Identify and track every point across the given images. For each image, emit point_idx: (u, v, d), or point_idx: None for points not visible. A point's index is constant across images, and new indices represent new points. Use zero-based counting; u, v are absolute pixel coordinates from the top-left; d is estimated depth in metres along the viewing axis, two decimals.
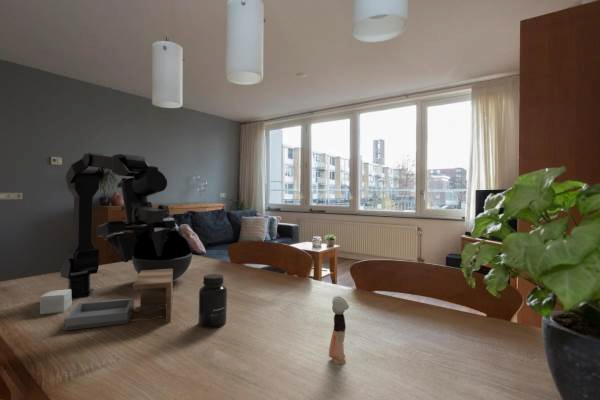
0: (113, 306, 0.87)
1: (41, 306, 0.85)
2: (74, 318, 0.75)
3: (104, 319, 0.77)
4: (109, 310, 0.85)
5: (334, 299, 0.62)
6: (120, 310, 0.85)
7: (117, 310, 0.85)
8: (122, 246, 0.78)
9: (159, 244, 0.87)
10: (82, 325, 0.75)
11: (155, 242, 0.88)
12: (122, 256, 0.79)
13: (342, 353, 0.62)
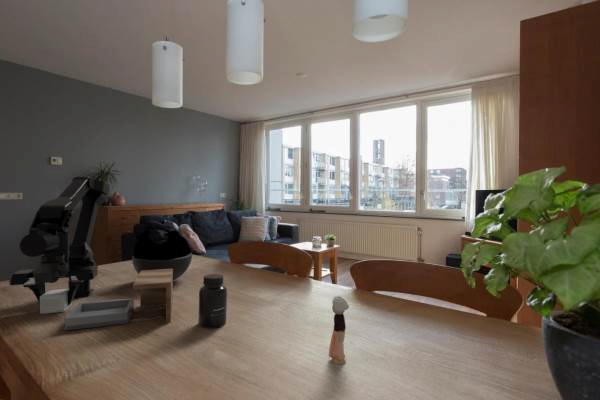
0: (113, 306, 0.87)
1: (41, 306, 0.84)
2: (74, 318, 0.75)
3: (104, 319, 0.77)
4: (109, 310, 0.85)
5: (334, 299, 0.62)
6: (120, 310, 0.85)
7: (117, 310, 0.85)
8: (35, 294, 0.85)
9: None
10: (82, 325, 0.75)
11: None
12: None
13: (342, 353, 0.62)
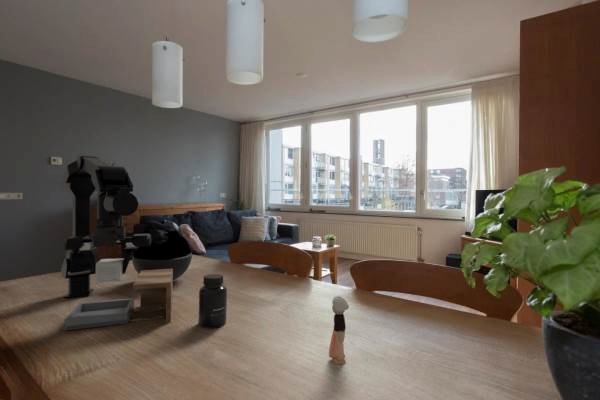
0: (113, 306, 0.87)
1: (97, 273, 0.79)
2: (74, 318, 0.75)
3: (104, 319, 0.77)
4: (109, 310, 0.85)
5: (334, 299, 0.62)
6: (120, 310, 0.85)
7: (117, 310, 0.85)
8: (90, 261, 0.80)
9: None
10: (82, 325, 0.75)
11: None
12: None
13: (342, 353, 0.62)
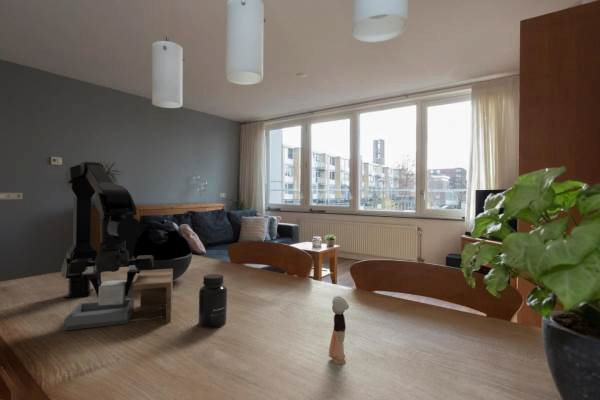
0: (113, 306, 0.87)
1: (100, 297, 0.79)
2: (74, 318, 0.75)
3: (104, 319, 0.77)
4: (109, 310, 0.85)
5: (334, 299, 0.62)
6: (120, 310, 0.85)
7: (117, 310, 0.85)
8: (93, 284, 0.80)
9: (126, 284, 0.83)
10: (82, 325, 0.75)
11: None
12: None
13: (342, 353, 0.62)
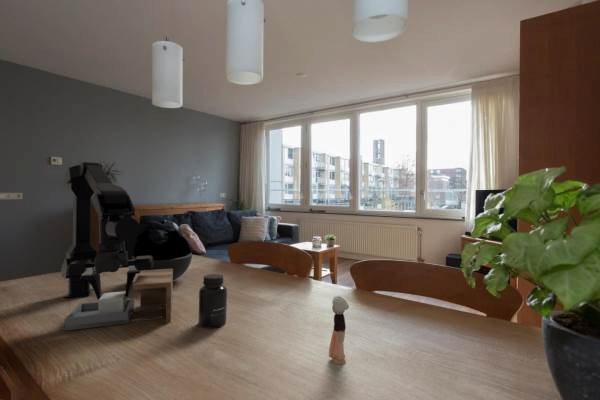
0: None
1: (100, 309, 0.79)
2: (74, 318, 0.75)
3: (104, 319, 0.77)
4: None
5: (334, 299, 0.62)
6: None
7: None
8: (92, 286, 0.80)
9: (126, 285, 0.83)
10: (82, 325, 0.76)
11: None
12: None
13: (342, 353, 0.62)
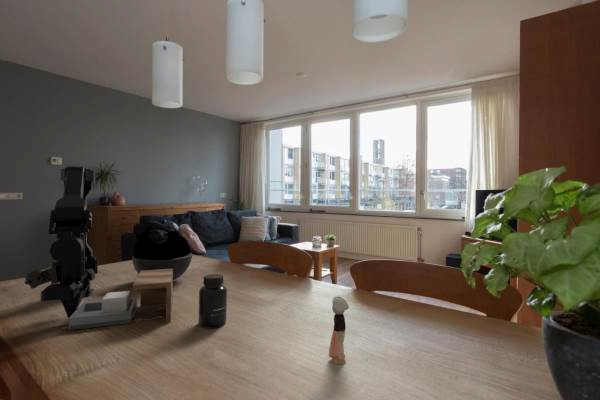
0: None
1: (103, 309, 0.79)
2: (78, 318, 0.75)
3: (108, 319, 0.77)
4: None
5: (334, 299, 0.62)
6: None
7: None
8: None
9: None
10: (86, 325, 0.76)
11: None
12: None
13: (342, 353, 0.62)
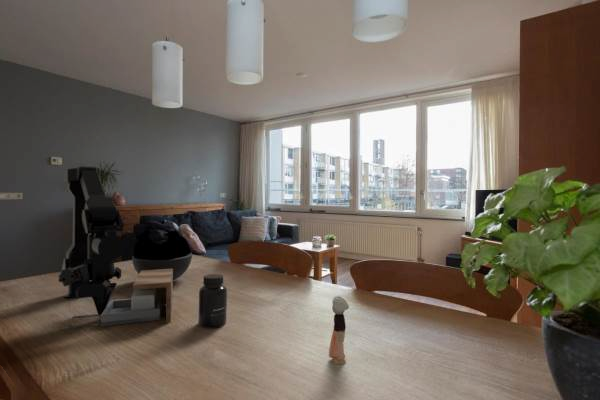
0: None
1: (132, 306, 0.82)
2: (109, 314, 0.77)
3: (137, 315, 0.80)
4: None
5: (334, 299, 0.62)
6: None
7: None
8: None
9: None
10: (117, 321, 0.78)
11: None
12: None
13: (342, 353, 0.62)
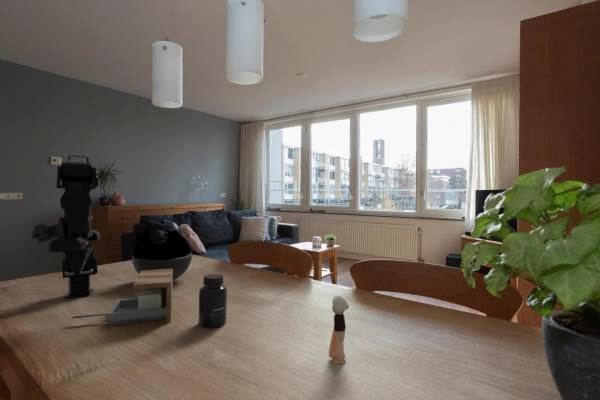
0: None
1: (139, 306, 0.82)
2: (117, 314, 0.78)
3: (145, 315, 0.80)
4: None
5: (334, 299, 0.62)
6: None
7: None
8: None
9: None
10: (124, 320, 0.79)
11: None
12: None
13: (342, 353, 0.62)
